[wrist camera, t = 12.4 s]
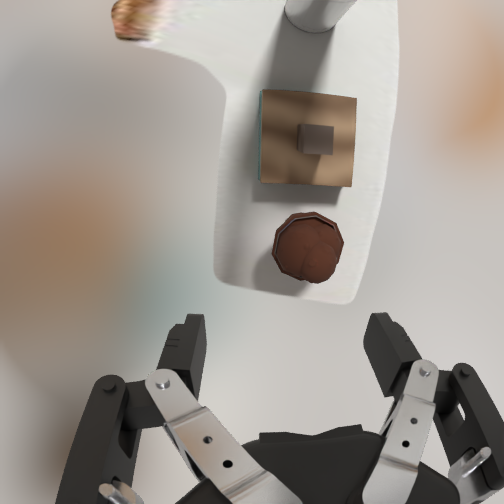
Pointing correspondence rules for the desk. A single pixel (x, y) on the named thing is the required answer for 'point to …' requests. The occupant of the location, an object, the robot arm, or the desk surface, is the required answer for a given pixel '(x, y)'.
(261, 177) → the walnut cover
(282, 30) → the desk surface
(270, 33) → the desk surface
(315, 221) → the ice cream bowl
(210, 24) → the desk surface
